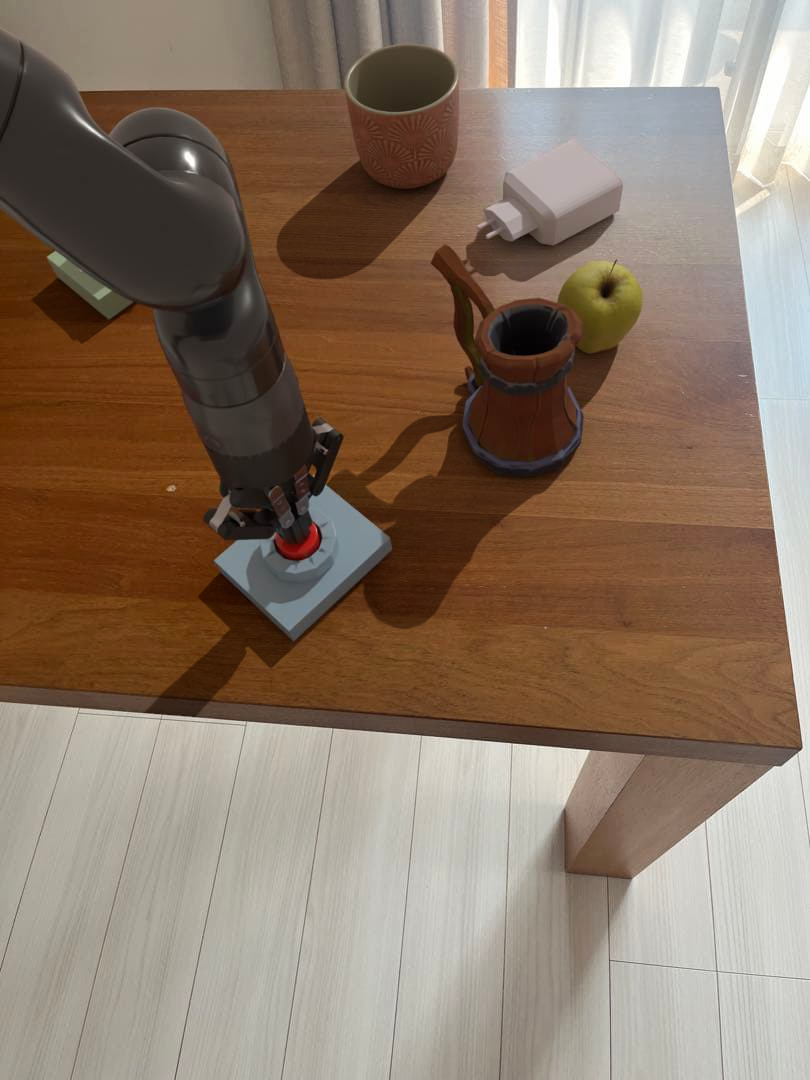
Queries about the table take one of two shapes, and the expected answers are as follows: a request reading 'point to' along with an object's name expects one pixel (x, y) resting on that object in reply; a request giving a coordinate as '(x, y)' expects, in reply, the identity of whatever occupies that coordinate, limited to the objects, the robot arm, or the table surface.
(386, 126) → the planter
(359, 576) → the button box
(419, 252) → the table surface
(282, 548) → the button
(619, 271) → the apple
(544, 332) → the mug
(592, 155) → the charger
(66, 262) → the panel
